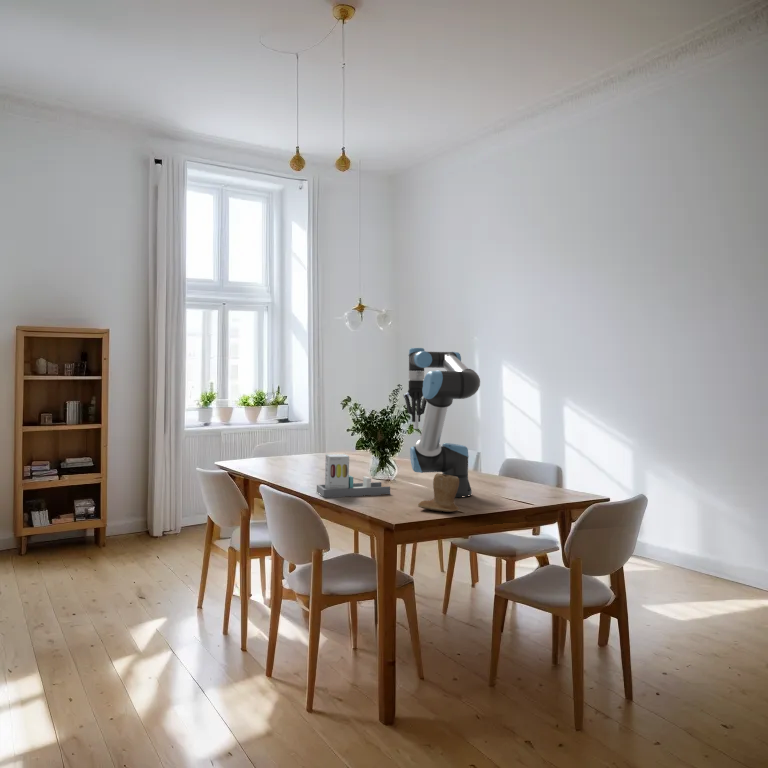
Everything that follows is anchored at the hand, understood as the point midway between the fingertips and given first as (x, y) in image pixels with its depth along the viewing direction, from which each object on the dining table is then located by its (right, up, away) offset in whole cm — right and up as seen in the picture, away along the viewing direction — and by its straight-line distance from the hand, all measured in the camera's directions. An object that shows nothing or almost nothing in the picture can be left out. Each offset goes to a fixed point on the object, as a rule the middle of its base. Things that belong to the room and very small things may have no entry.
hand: (415, 428), depth 329 cm
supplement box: (-37, -28, -21) cm, 50 cm away
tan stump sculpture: (+8, -30, -54) cm, 62 cm away
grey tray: (-30, -28, -18) cm, 45 cm away
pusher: (-27, -27, -17) cm, 42 cm away
